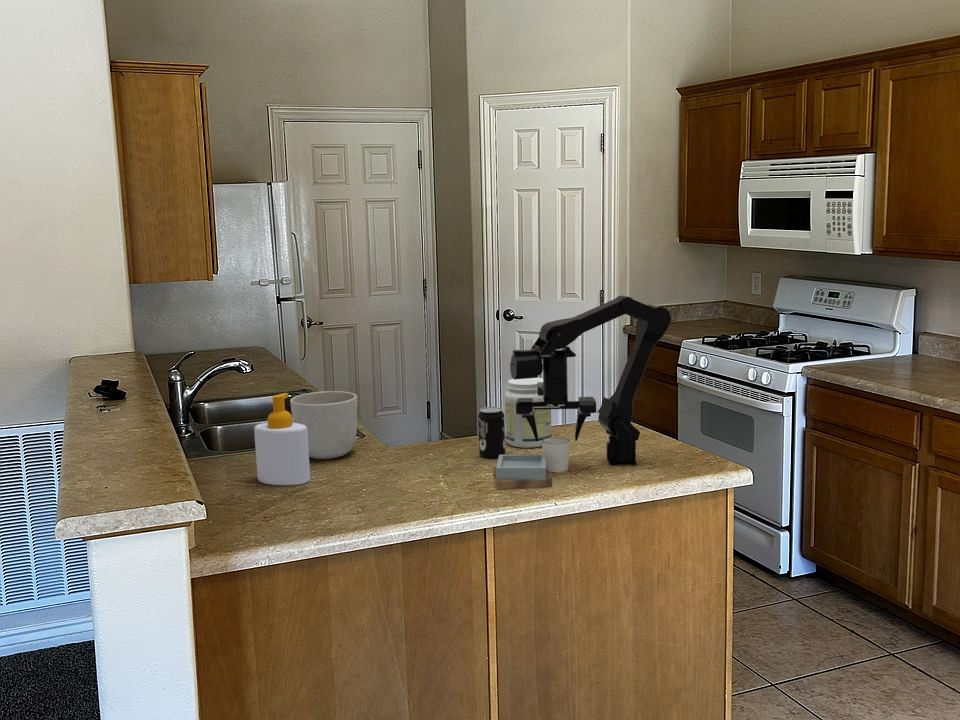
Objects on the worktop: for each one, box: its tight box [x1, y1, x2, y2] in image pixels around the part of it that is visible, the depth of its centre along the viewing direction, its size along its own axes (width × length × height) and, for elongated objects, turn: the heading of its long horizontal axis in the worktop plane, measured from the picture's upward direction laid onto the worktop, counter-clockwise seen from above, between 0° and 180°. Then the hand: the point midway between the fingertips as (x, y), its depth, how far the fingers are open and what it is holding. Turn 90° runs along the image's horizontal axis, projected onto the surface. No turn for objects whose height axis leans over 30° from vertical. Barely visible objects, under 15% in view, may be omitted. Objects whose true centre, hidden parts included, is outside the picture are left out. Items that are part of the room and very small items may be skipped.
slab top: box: [495, 453, 546, 481], centre depth 204 cm, size 11×11×3 cm
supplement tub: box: [504, 377, 553, 449], centre depth 235 cm, size 12×12×17 cm
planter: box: [289, 390, 358, 460], centre depth 229 cm, size 17×17×15 cm
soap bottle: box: [253, 392, 311, 486], centre depth 208 cm, size 13×8×20 cm, turn 71°
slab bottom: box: [492, 465, 553, 490], centre depth 204 cm, size 12×12×2 cm
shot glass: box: [541, 436, 571, 473], centre depth 212 cm, size 7×7×7 cm
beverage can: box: [477, 406, 506, 459], centre depth 225 cm, size 7×7×12 cm
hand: (556, 440), depth 211 cm, fingers open, 9 cm apart
